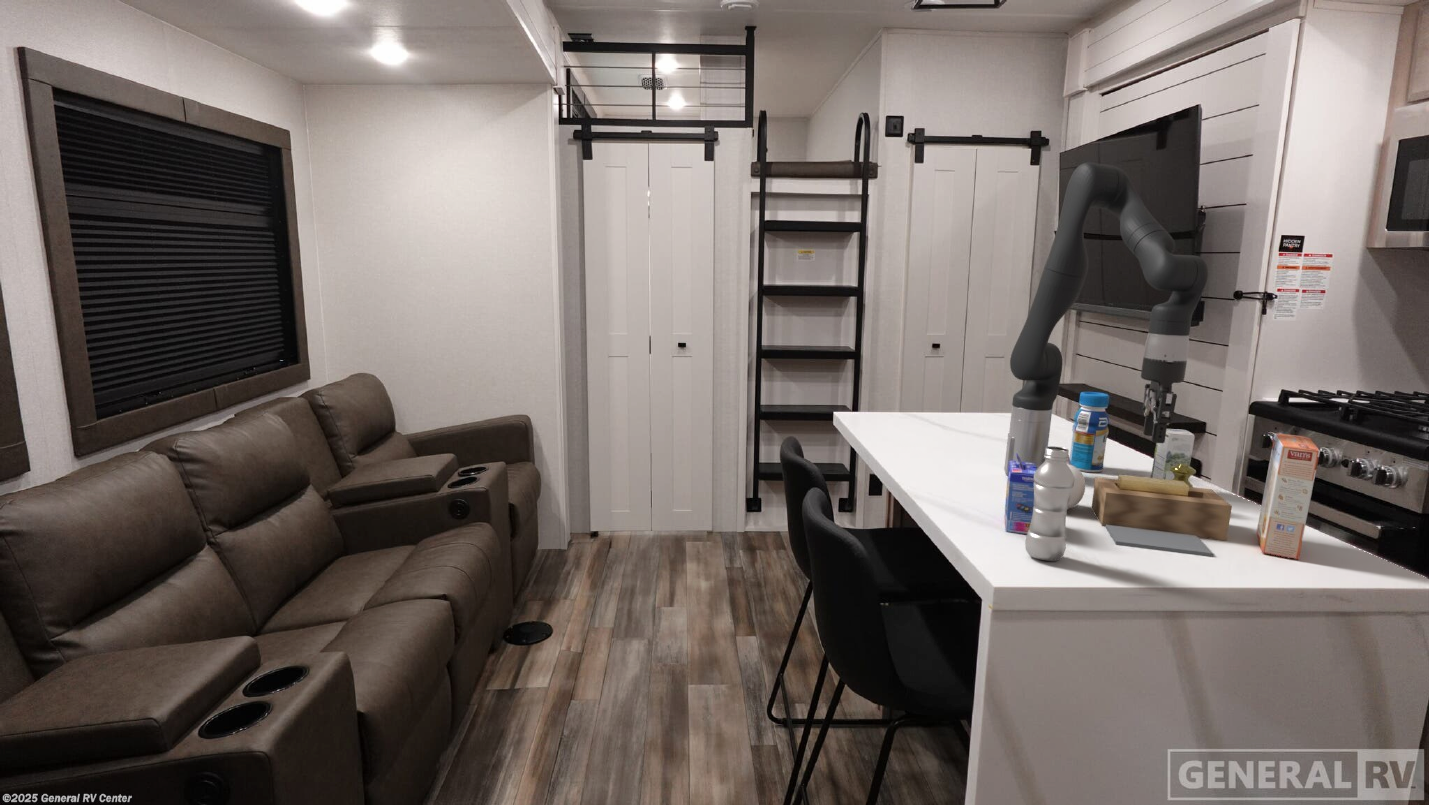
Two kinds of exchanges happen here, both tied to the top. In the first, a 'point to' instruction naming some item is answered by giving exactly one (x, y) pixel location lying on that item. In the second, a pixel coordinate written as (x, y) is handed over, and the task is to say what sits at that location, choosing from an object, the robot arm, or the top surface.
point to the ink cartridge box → (1019, 496)
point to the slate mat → (1158, 540)
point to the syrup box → (1172, 453)
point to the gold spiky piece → (1182, 473)
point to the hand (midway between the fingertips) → (1153, 438)
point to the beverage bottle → (1090, 432)
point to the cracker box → (1287, 495)
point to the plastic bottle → (1050, 506)
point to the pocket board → (1162, 510)
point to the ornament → (1076, 486)
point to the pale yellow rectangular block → (1152, 485)
